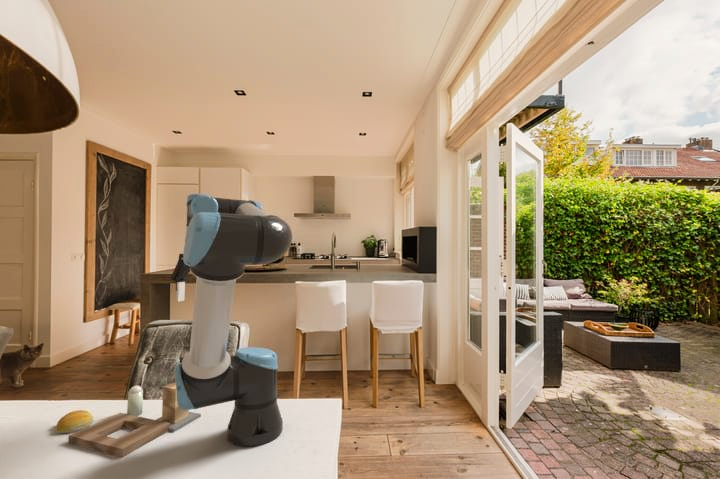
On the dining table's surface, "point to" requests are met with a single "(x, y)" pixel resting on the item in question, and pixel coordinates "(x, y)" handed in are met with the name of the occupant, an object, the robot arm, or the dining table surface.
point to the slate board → (182, 421)
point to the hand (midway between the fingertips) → (196, 302)
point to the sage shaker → (135, 401)
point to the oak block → (172, 405)
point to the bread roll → (74, 421)
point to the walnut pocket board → (99, 439)
